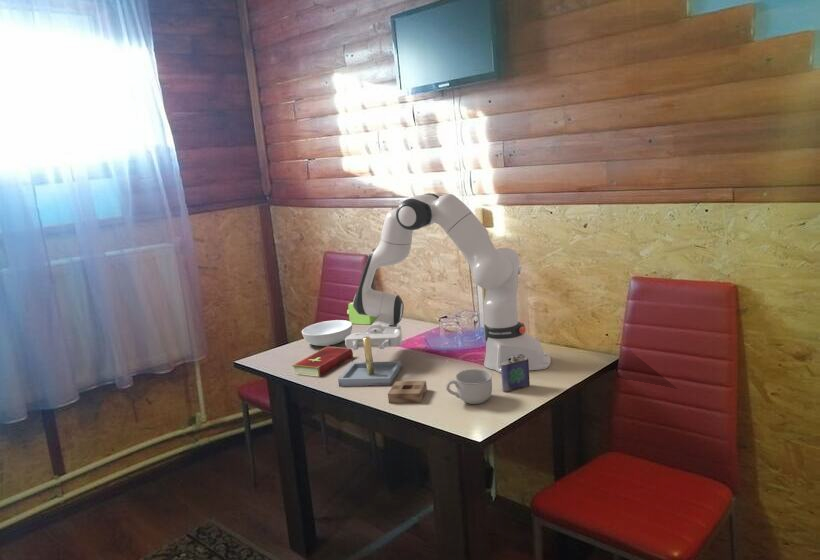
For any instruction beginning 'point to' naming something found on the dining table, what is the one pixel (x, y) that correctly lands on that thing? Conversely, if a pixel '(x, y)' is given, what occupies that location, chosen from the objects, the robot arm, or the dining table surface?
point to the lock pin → (368, 355)
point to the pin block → (407, 392)
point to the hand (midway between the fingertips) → (367, 347)
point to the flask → (515, 374)
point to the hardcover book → (323, 361)
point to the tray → (359, 376)
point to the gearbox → (359, 316)
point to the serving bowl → (327, 332)
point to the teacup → (472, 385)
